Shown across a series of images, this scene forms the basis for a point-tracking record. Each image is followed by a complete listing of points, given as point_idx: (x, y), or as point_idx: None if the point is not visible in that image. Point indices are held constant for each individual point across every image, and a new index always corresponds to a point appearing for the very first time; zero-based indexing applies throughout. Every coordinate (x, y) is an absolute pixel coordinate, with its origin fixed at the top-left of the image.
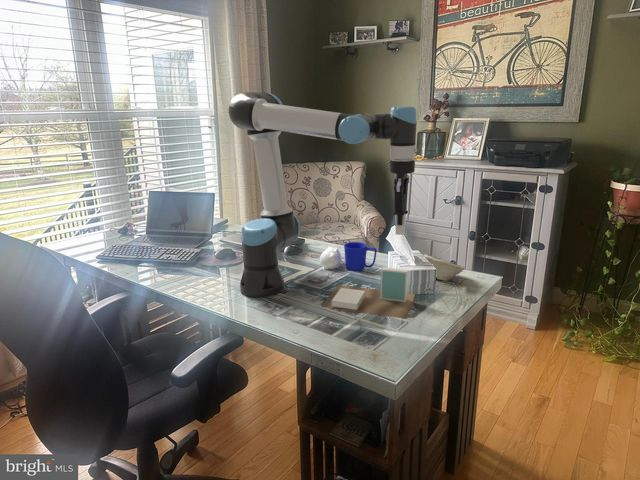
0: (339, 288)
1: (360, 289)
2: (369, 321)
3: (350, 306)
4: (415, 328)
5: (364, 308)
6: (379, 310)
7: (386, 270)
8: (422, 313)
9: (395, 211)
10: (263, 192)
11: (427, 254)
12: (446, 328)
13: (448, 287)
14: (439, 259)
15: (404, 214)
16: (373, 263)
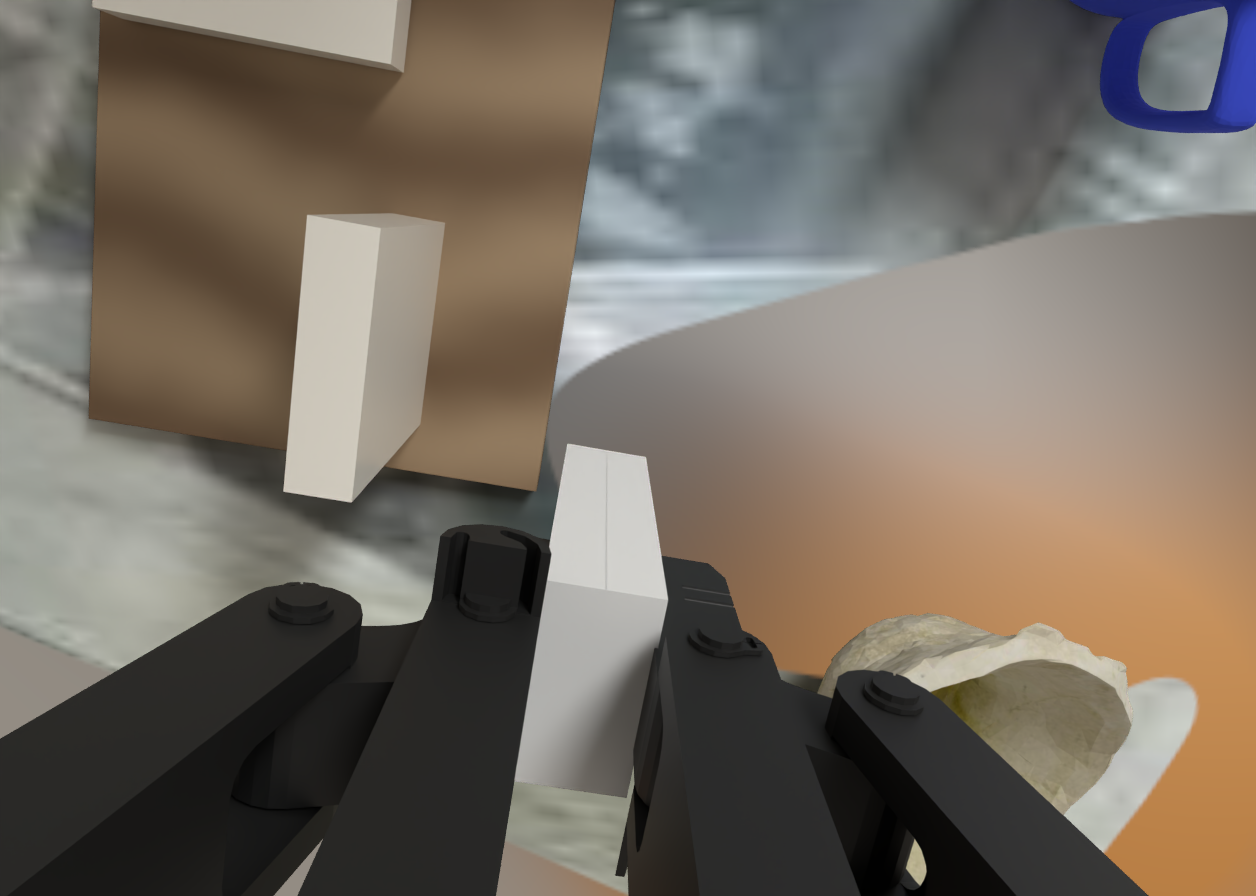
0: None
1: (564, 18)
2: (46, 139)
3: None
4: (35, 466)
5: (176, 83)
6: (172, 212)
7: (302, 275)
8: (273, 521)
9: (207, 633)
10: None
11: (1089, 673)
12: (93, 652)
13: None
14: (1109, 743)
15: (574, 777)
16: (1116, 113)
